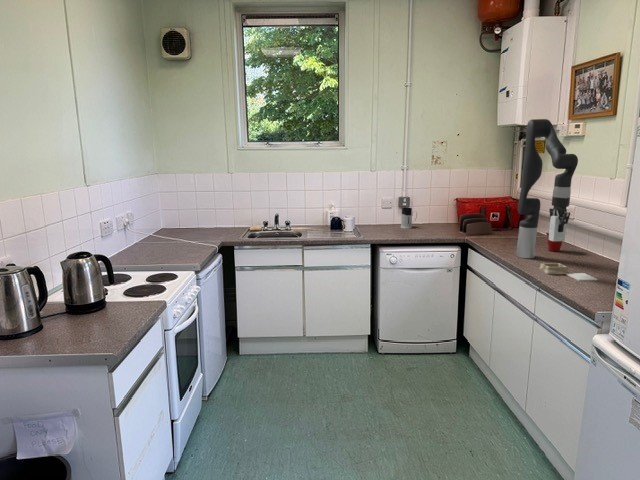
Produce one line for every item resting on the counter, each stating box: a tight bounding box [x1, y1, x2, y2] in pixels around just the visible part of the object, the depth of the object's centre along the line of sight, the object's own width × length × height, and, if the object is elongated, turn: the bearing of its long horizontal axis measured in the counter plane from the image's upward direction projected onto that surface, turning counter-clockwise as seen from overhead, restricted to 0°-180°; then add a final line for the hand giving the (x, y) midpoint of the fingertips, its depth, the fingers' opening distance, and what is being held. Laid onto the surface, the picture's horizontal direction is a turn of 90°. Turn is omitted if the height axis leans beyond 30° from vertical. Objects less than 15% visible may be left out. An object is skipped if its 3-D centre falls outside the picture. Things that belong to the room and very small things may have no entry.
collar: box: [539, 262, 569, 275], centre depth 219 cm, size 8×10×4 cm
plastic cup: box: [545, 230, 563, 253], centre depth 262 cm, size 11×11×12 cm
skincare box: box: [548, 216, 567, 242], centre depth 215 cm, size 6×4×12 cm
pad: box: [565, 272, 598, 282], centre depth 210 cm, size 10×9×1 cm
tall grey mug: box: [400, 207, 418, 229], centre depth 339 cm, size 9×14×15 cm, turn 40°
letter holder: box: [458, 212, 492, 236], centre depth 316 cm, size 10×20×14 cm, turn 104°
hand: (557, 230), depth 215 cm, fingers closed on skincare box, 4 cm apart
